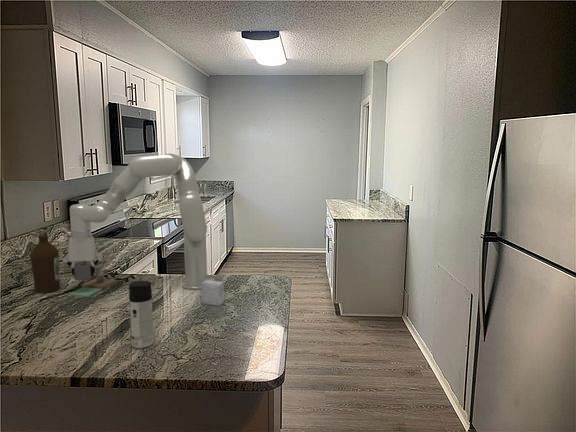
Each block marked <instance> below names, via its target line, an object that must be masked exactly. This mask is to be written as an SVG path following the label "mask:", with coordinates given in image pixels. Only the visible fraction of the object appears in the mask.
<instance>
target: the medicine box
mask: <svg viewBox="0 0 576 432" xmlns="http://www.w3.org/2000/svg"><path fill="white" fill-rule="evenodd" d="M200 290H201V291H200V295H201V304H202V305H210V306H216V307H217V306H218V307H219V306H222V304H224V303H225V295H224V294H225V293H224V290H225V289H224V281H217V280H215V281H209V280H206V281H204V282H202V283H201V289H200Z"/></svg>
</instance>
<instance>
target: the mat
mask: <svg viewBox="0 0 576 432" xmlns="http://www.w3.org/2000/svg"><path fill="white" fill-rule="evenodd" d="M102 290H103V289H99V288H88V287H80V288H78V289H76V290H74V291H72V292H70V293H68V296H74V297H75V296H76V297H84V298H88V297H91V296H93V295H95V294H97V293H99V292H101V291H102Z"/></svg>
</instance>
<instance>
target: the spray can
mask: <svg viewBox="0 0 576 432" xmlns="http://www.w3.org/2000/svg"><path fill="white" fill-rule="evenodd" d="M152 289H153V288H152V282H151V281H149V280H135V281H132V282H130V283H129V284H128V295H129V298H128V299H129V325H130V342H131V343H130V345H131V347H132V348H134V349H136V350H137V349H138V350H139V349H146V348H149V347H151V346H152V345H153V343H154V322H153V317H154V316H153V315H154V314H153V295H152V294H153V293H152V292H153V291H152Z"/></svg>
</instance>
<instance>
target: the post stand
mask: <svg viewBox="0 0 576 432" xmlns="http://www.w3.org/2000/svg"><path fill="white" fill-rule="evenodd" d="M119 282H120V280H119V279H112V278H111V279H110V278H104V267H103V265H99V266H95V278H93V279H90V280H88V281H86V282H83V283H81V285H80V288H83V287H88V288H99V289H102V290H107V289H108V288H110V287H112V286H114V285H116V284H118V283H119Z"/></svg>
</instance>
